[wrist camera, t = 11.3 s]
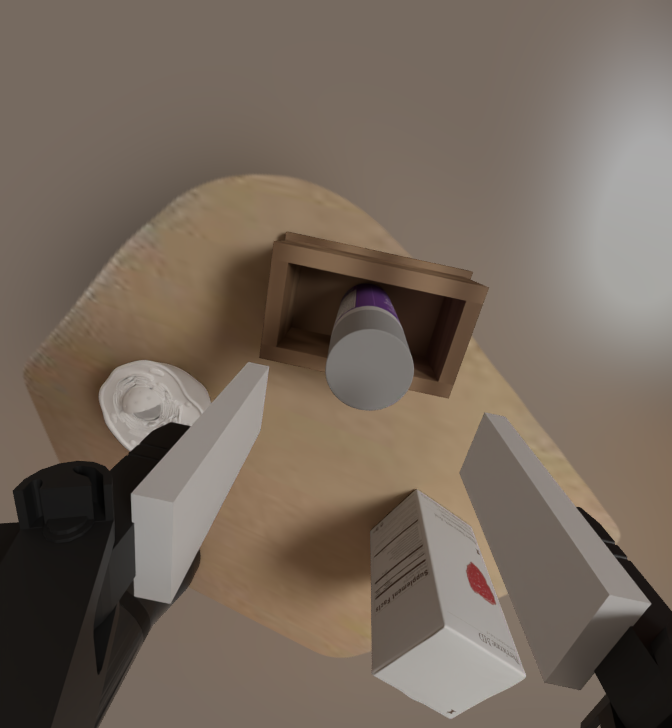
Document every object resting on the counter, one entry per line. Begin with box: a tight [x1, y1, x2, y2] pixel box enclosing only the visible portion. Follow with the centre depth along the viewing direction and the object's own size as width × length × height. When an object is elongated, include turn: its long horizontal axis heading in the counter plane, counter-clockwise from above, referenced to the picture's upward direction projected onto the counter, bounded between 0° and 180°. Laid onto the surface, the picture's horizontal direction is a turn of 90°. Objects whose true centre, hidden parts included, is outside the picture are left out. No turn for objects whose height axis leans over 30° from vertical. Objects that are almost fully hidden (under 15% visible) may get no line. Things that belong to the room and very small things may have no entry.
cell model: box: [99, 360, 211, 451], centre depth 34 cm, size 10×12×7 cm
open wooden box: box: [260, 232, 489, 399], centre depth 29 cm, size 16×10×7 cm, turn 79°
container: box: [325, 283, 414, 410], centre depth 24 cm, size 5×5×15 cm
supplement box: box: [370, 489, 526, 719], centre depth 34 cm, size 9×9×15 cm
